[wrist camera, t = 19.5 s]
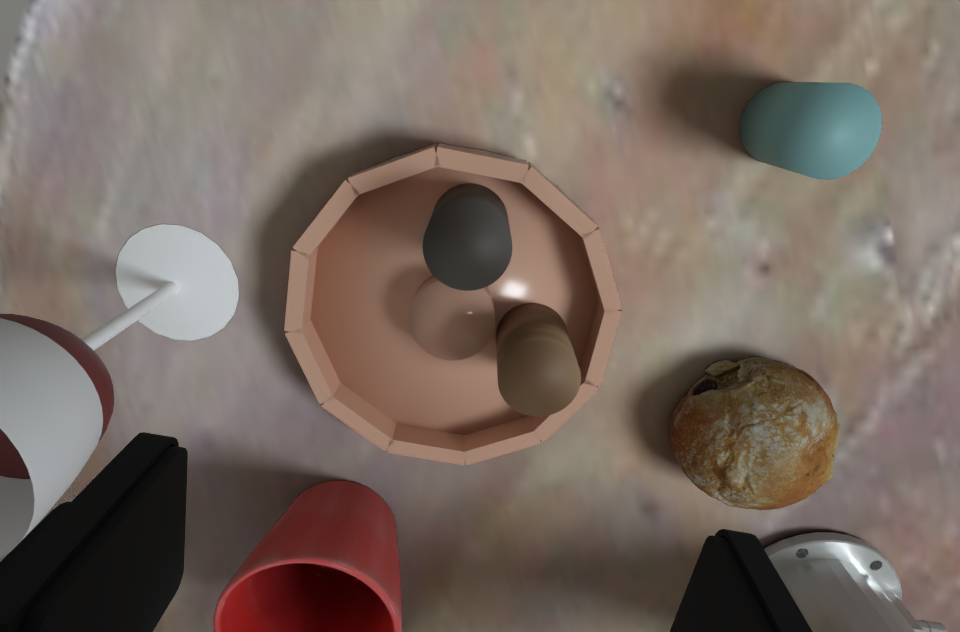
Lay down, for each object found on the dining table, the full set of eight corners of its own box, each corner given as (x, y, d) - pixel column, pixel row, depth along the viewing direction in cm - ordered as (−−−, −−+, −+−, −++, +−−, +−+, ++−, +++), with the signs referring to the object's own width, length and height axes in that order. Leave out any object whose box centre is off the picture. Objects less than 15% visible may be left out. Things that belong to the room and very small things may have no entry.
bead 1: (460, 272, 38) (456, 306, 32) (416, 211, 36) (404, 236, 31) (522, 231, 37) (529, 259, 31) (480, 167, 35) (479, 185, 30)
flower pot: (248, 469, 44) (186, 572, 35) (404, 451, 43) (383, 551, 34) (285, 588, 48) (237, 709, 38) (429, 574, 47) (415, 693, 38)
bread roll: (753, 320, 44) (765, 327, 36) (868, 434, 42) (907, 466, 34) (645, 412, 46) (636, 437, 39) (749, 523, 44) (760, 572, 37)
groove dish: (644, 181, 37) (657, 190, 34) (566, 457, 43) (572, 483, 40) (317, 116, 36) (302, 120, 33) (288, 410, 42) (274, 433, 39)
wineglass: (107, 205, 37) (-271, 334, 19) (254, 238, 38) (32, 394, 19) (104, 327, 40) (-227, 546, 21) (242, 356, 41) (37, 592, 22)
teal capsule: (830, 90, 35) (897, 92, 29) (802, 169, 36) (860, 186, 31) (754, 75, 35) (805, 74, 29) (729, 156, 36) (773, 170, 31)
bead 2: (551, 292, 38) (563, 329, 32) (577, 353, 39) (592, 399, 34) (484, 319, 39) (484, 360, 33) (511, 378, 40) (516, 427, 34)
